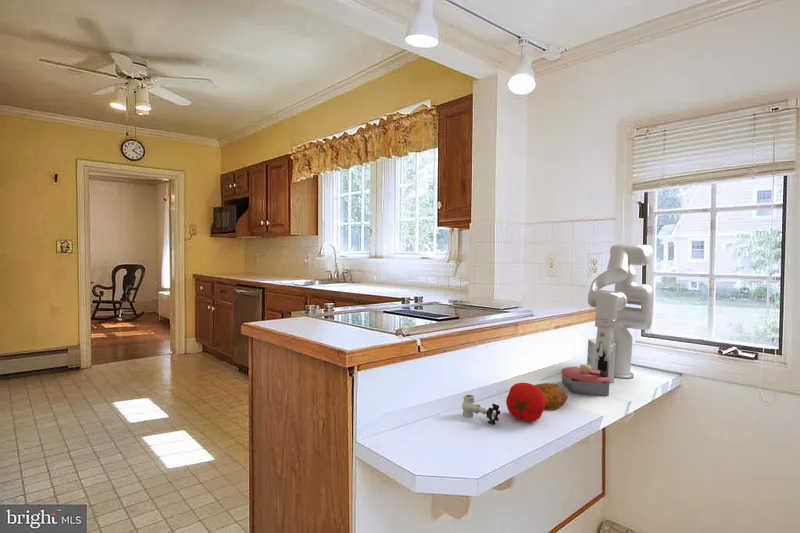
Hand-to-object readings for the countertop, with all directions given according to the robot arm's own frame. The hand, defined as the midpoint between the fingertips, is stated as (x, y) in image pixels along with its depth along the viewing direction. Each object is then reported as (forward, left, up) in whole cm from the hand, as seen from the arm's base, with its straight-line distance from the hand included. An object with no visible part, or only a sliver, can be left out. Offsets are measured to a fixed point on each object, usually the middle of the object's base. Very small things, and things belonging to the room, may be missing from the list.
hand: (602, 370), depth 175 cm
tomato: (+32, -35, -10) cm, 48 cm away
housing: (-6, -4, -10) cm, 12 cm away
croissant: (+14, -24, -10) cm, 30 cm away
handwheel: (-6, -4, -4) cm, 9 cm away
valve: (+35, -51, -10) cm, 62 cm away
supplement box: (-23, +8, -10) cm, 27 cm away
